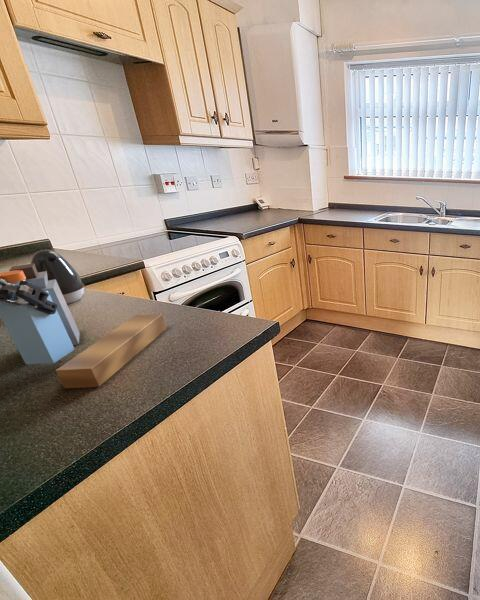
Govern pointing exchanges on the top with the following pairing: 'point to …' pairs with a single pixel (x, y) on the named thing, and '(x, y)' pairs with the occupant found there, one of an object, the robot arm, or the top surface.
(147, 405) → the top surface
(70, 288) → the pump dispenser
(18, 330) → the light blue bottle
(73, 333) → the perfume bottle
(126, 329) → the wooden board
